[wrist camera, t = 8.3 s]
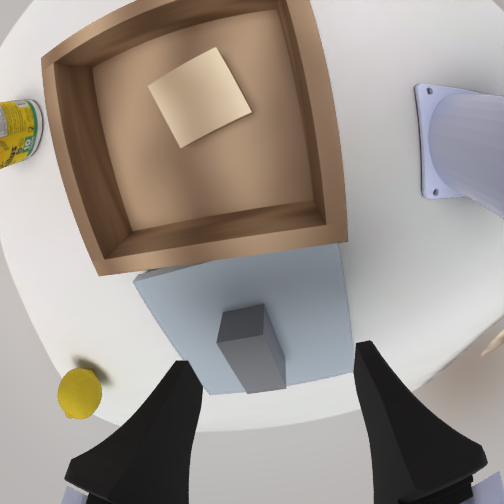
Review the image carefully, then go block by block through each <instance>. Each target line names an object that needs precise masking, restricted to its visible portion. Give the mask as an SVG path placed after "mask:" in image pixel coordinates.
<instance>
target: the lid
mask: <svg viewBox="0 0 504 504" xmlns="http://www.w3.org/2000/svg"><path fill="white" fill-rule="evenodd" d="M133 284H134V285H135V287H136V289H137V290H138V292H139V294H140V295H141V297H142V299H143V300H144V302H145V304H146V305H147V307H148V309H149V310H150V312H151V313H152V315H153V317H154V318H155V320H156V321H157V323H158V324H159V326H160V327H161V329H162V330H163V332H164V333H165V335H166V336H167V338H168V339H169V341H170V342H171V344H172V345H173V347H174V348H175V349H176V351H177V352H178V354H179V355H180V357H181V358H182V359H183V361H186V360H188V361H189V363H190V365H191V366H192V368H193V370H194V372H195V373H196V375H197V377H198V379H199V380H200V382H201V384H202V385H203V387H204V388H205V390H206V391H207V392H208V393H209V395H217V394H229V393H239V392H247V394H250V393H259V392H266V391H273V390H280V389H286V386H290V385H295V384H301V383H306V382H311V381H316V380H321V379H325V378H330V377H334V376H338V375H342V374H346V373H350V372H353V371H354V355H353V344H352V335H351V326H350V318H349V310H348V302H347V295H346V289H345V282H344V276H343V270H342V264H341V258H340V253H339V247H338V243H335V244H328V245H321V246H314V247H307V248H300V249H293V250H286V251H278V252H271V253H264V254H257V255H250V256H243V257H236V258H229V259H222V260H214V261H207V262H200V263H193V264H185V265H178V266H171V267H164V268H161V269H157V270H154V271H150V272H146V273H143V274H139V275H138V276H137V277H136V278H135V280H134V281H133Z"/></svg>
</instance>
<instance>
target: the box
mask: <svg viewBox="0 0 504 504" xmlns="http://www.w3.org/2000/svg"><path fill="white" fill-rule="evenodd" d="M215 47H216V48H217V49H218V50H219V52H220V53H221V54H222V56H223V57H224V59H225V61H226V63H227V64H228V66H229V68H230V70H231V71H232V73H233V75H234V77H235V79H236V81H237V82H238V84H239V86H240V88H241V90H242V92H243V94H244V95H245V97H246V99H247V101H248V103H249V105H250V107H251V109H252V111H253V114H251V115H249V116H247V117H245V118H242V119H240V120H238V121H236V122H234V123H232V124H230V125H228V126H226V127H224V128H222V129H220V130H218V131H216V132H214V133H212V134H210V135H208V136H206V137H204V138H203V139H201V140H199V141H197V142H195V143H193V144H192V145H189V146H186V147H183V148H180V146H179V144H178V142H177V141H176V139H175V137H174V135H173V133H172V131H171V129H170V127H169V126H168V124H167V122H166V120H165V118H164V116H163V114H162V112H161V111H160V109H159V107H158V105H157V103H156V101H155V99H154V97H153V95H152V93H151V92H150V90H149V88H148V86H149V85H150V84H152V83H153V82H155V81H156V80H158V79H159V78H161V77H163V76H164V75H166V74H167V73H169V72H171V71H172V70H174V69H176V68H177V67H179V66H181V65H183V64H184V63H186V62H188V61H190V60H192V59H193V58H195V57H197V56H199V55H201V54H203V53H205V52H207V51H209V50H211V49H213V48H215ZM41 65H42V77H43V87H44V95H45V103H46V109H47V115H48V121H49V126H50V132H51V136H52V141H53V146H54V150H55V154H56V158H57V162H58V166H59V170H60V173H61V177H62V180H63V184H64V187H65V190H66V193H67V197H68V200H69V203H70V206H71V209H72V212H73V214H74V217H75V220H76V223H77V225H78V228H79V231H80V233H81V236H82V238H83V241H84V243H85V246H86V248H87V251H88V253H89V255H90V258H91V260H92V262H93V265H94V267H95V269H96V271H97V273H98V276H105V275H112V274H120V273H127V272H135V271H142V270H149V269H156V268H164V267H171V266H178V265H185V264H193V263H200V262H207V261H214V260H222V259H229V258H236V257H243V256H250V255H257V254H264V253H271V252H278V251H286V250H293V249H300V248H307V247H314V246H321V245H328V244H335V243H342V242H348V230H347V211H346V197H345V184H344V173H343V164H342V155H341V146H340V139H339V131H338V125H337V118H336V112H335V106H334V100H333V94H332V89H331V84H330V79H329V74H328V69H327V64H326V60H325V56H324V51H323V47H322V43H321V39H320V35H319V31H318V28H317V24H316V20H315V17H314V14H313V10H312V7H311V4H310V0H136V1H134V2H132V3H130V4H128V5H125V6H123V7H121V8H119V9H117V10H115V11H113V12H111V13H109V14H108V15H106V16H104V17H102V18H100V19H98V20H97V21H95V22H93V23H91V24H90V25H88V26H86V27H85V28H83V29H81V30H80V31H78V32H77V33H75V34H74V35H72V36H71V37H69V38H68V39H66V40H65V41H63V42H62V43H60V44H59V45H58V46H56V47H55V48H53V49H52V50H51V51H49V52H48V53H47V54H45V55H44V56H43V57H42V58H41Z"/></svg>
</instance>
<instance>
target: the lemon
mask: <svg viewBox="0 0 504 504" xmlns="http://www.w3.org/2000/svg"><path fill="white" fill-rule="evenodd" d="M101 397H102V388H101V384H100V382H99V380H98V378H97V377H96V376H95V374H94V371H93V370H91V369H88V370H86V369H82V368H76V369H73V370H70V371H69V372H68V373H67V374H66V375H65V376H64V377H63V379H62V380H61V383H60V385H59V388H58V401H59V404H60V406H61V408H62V410H63V411H64V412H65V415H66V416H67V417H68V418H75V419H85V418H88V417H90V416H91V415H92V414H93V413H94V412H95V410H96V409H97V407H98V406H99V404H100V401H101Z"/></svg>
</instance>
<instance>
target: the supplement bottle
mask: <svg viewBox="0 0 504 504" xmlns="http://www.w3.org/2000/svg"><path fill="white" fill-rule="evenodd" d="M41 133H42V116H41V112H40V109H39V107H38V106H37V104H36V103H35V102H34V101H32V100H28V99H24V100H15V101H8V102H2V103H0V169H2V168H4V167H7V166H9V165H12V164H14V163H17V162H20V161H23V160H25V159H27V158H29V157H30V156H31V155H32V154H33V153H34V151H35V150H36V148H37V146H38V143H39V140H40V137H41Z"/></svg>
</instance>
